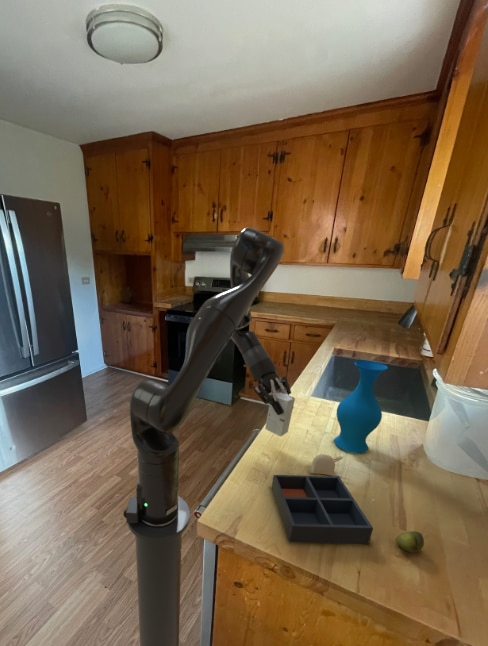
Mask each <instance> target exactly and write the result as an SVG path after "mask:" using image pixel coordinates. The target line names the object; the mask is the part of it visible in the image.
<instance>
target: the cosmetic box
mask: <svg viewBox="0 0 488 646" xmlns="http://www.w3.org/2000/svg"><path fill="white" fill-rule="evenodd" d="M276 397H277V401H278V402H279V403H280V405H281V407H282V409H283V411H284V413H282V414H280V415H277V413H276V412H275V410H274V409H273V407H272V405H270V404H268V409H267V416H266V422H265V427H264V429H265V430H266V431H267V432H270V433H272V434H274V435H276V436H279V437H282V436H284V435H286V434H288V433H289V429H290V424H291V419H292V414H293V409H294V408H293V407H294V405H295V400H296V398H295V397H294V396H291V395H290V394H289V395H287V394H284V393H282V392H276ZM271 398H272V396H271Z"/></svg>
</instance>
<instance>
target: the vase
mask: <svg viewBox="0 0 488 646" xmlns="http://www.w3.org/2000/svg"><path fill="white" fill-rule="evenodd" d="M354 365H355V366H356V368H357V369H358V372H359V381H358V383H357V386H356V388H355V389H354V390H353V391H352V392H351V393H349V395H347V396H346V397H344V398H343V399H342V400H341V401H340V403H339V404H338V406H337V408H336V419H337V423H338V425H339V428H340V429H339V430H340V433H339V435H337V436H336V437H334V438H333V443H334V444H335V446H336V447H338V448H339V449H341V450H342V451H344V452H348V453H351V454H364V453H367V452H368V451H369V445H368V443H367V439H368V436H369V435H370V434H371V433H372V432H373V431H375V430H376V429H377V428H378V426H380V424H381V421H382V418H383V413H382V408H381V406H380V404H379V402H378V400H377V399H376V396H375V391H374V385H375V382H376V380H377V378H378V376H380V374H382V373H383V372H385V371H387V370H388V369H389V367H388V366H387V365H386V364H384V363H382V362H379V361H373V360H364V359H363V360H356V361H354Z"/></svg>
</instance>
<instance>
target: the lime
mask: <svg viewBox="0 0 488 646" xmlns="http://www.w3.org/2000/svg"><path fill="white" fill-rule="evenodd" d="M395 542H396V544H397V545H398V547H400V548H401V549H402V550H404V551H406V552H408V553H418V552H420V551H421V550H422V549H423V548H424V546H425V539H424V536H423V534H422V533H421V532H419V531H415V530H414V531H413V530H412V531H407V532H404V533H402V534H399V535H398V536H396V538H395Z"/></svg>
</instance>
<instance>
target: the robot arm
mask: <svg viewBox="0 0 488 646" xmlns="http://www.w3.org/2000/svg"><path fill="white" fill-rule="evenodd" d="M284 253H285V245H284V243H283V242H282V241H280V240H279V239H278V238H275V237H273V235H270V234H267V233H266V232H264V231H261V230H259V229H257V228H254V227H252V226H246V227H245V228H243V229H242V230H241V231H240V233H239V234H238V235H237V237H236V239H235V240H234V243H233V245H232V248H231V252H230V258H229V280H230V288H229V289H227V290H224V291H222V292H219V293H217V294H214V295H213V296H212V297H210V298H208V299H206V300H205V301H204V302H203V303H202V305H201V306H200V307H199V309H198V311H196V314H195V315H194V317H193V318H192V319H191V321H190V323H189V324H188V327H187V330H186V336H185V352H184V353H185V354H184V361H183V364H182V366H181V368H180V370H179V372H178V374H177V375H176V376H175V378H174V380H173V381H172V383H171V384H166V383H164V382H162V381H160V380H158V379H152V378H150V379H148V378H147V379H144V380H142V381H140V382H139V383H138V384H137V385H136V386H135V388H134V389H133V391H132V393H131V396H130V401H129V402H130V403H129V419H130V430H131V438H132V442H133V444H134V446H135V449H136V463H137V464H136V465H137V466H136V468H137V470H136V471H137V483H136V487H135V490H136V491H135V493H136V494H135V495H136V496H129V499H128V503H127V506H126V507H127V508H126V509H125V510H124V511H123V514H122V515H123V516H124V518H125V520H126V524H127V523H138V522H142V523H144V524H145V525H147V526H149V527H153V528H162V527H166V526H168V525H170V524H172V523H173V522H174V521H175V520H176V519H177V516H178V496H179V481H180V479H179V478H180V477H179V475H180V472H179V471H180V441H179V439H178V437H177V436H176V434H175V433H174V432H175V431H176V430H178V429H179V428H180V427H181V425H182V424H183V423H184V422H185V420H186V419H187V417H188V415H189V413H190V411H191V409H192V408H193V405H194V404H195V403H196V402H195V401H196V400H197V398H198V396H199V393H200V392H201V389H202V387H203V385H204V383H205V381H206V380H207V377H208V376H209V374H210V373H211V371H212V369H213V367H214V366H215V364H216V362H217V361H218V359H219V357H220V356H221V354H222V353H223V351H224V349H225V348H226V347H227V345H228V344H229V342H230V340H231V341H232V342H233V343H234V345H235V346H236V347H237V349H238V351H239V353H240V354H241V356H242V358H243V361H244V363H245V366H246V367H247V369H248V371H249V372H250V374H251V376H252V378H253V380H254V381H255V382H257V383H258V385H257V386H255V387H254V388H253V391H254V392H255V394H256V395H257V396H258V397H259V399H260V400H261V401H262V402H263V403H264V404H265V405H269V404H270V405H272V407H273V409H274V410H275V412H276V413H277V415H280V414H282V413H284V411H283V409H282V407H281V405H280V403H279V402H278V401H277V397H276V392H281V393H284V394H287V395H289V396H290V395H291V394H292V390H291V388H290V384H289V382H288V379H287V377H286V376H281V377H280V376H279V375H278V374H277V367H276V365H275V363H274V362H273V360H272V357H271V356H270V355H269V353H268V351H267V349H266V348H265V347H264V345H263V343H262V342H261V340H260V338H259V337H258V335H257V333H256V332H255V331H253V330H247V331H241V329H244V328H245V327H246V328H247V326H249V325H250V324H251V322H252V319H253V318H252V317H253V316H252V312H251V311H252V310H251V309H252V305H253V302H254V300H255V299H256V298H257V296H258V294H260V292H261V290H262V289H263V287H264V286H265V285H266V283H267V282H268V281H269V279H270V278H271V277H272V275H273V274H274V272H275V271H276V269H277V268H278V266H279V264H280V263H281V261H282V259H283V256H284ZM271 396H272V398H271ZM294 408H295V407H294V406H293V409H294Z"/></svg>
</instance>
